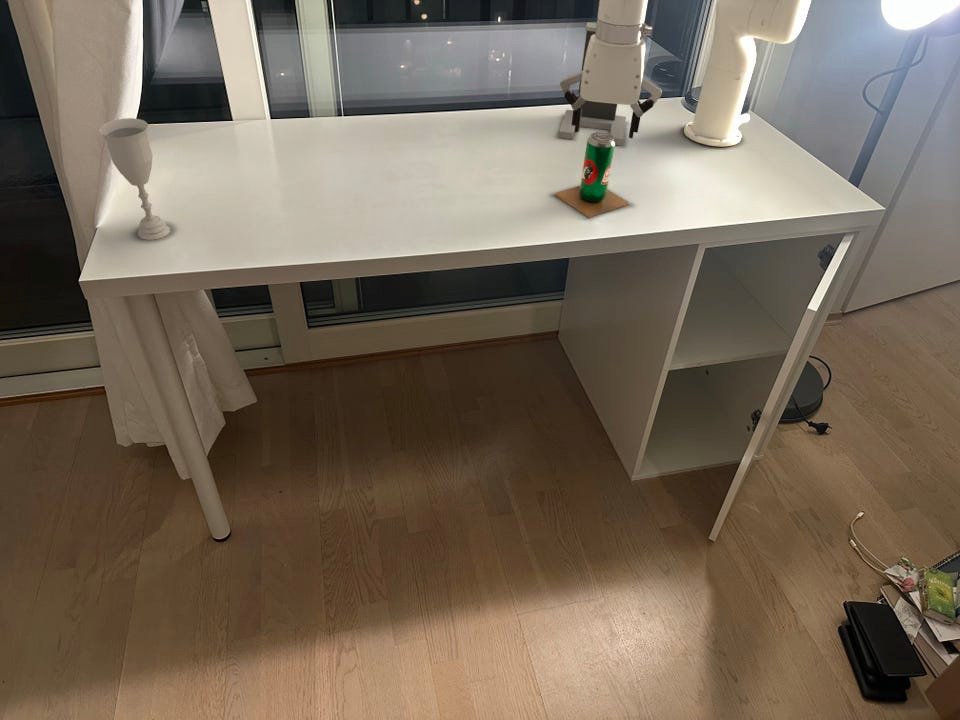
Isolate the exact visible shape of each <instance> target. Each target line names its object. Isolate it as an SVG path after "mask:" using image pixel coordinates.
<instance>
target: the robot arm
mask: <svg viewBox="0 0 960 720" xmlns="http://www.w3.org/2000/svg"><path fill="white" fill-rule="evenodd" d="M648 1H649V0H599V2H598V3H599V4H598V11H597V20H596V23H597V25H596V33H595V34H594V35H592V36H591V38H590V41H589V44H588V48H587V52H586V57H585V62H584V68H583V71H581V70H580V71H579V72H576V73H574V74H571V75H569V76H566V77H563V78H561V80H560V82H559V85H560V88H561V91H562V93H563V96H564V99H565V100H566V102H567V103H568V104H569V105H570V106H571V110H573V117H572V125H573V126H575V130H574V133H579V132H580V129H581V126H580V122H581V114H582V105H583V104H584V103H585V102H586V101H587V100H588V101H594V102H603V103H612V104H617V105H621V106H630V108H631V110H632V115H631V121H630V126H629V132H628V138H629V139H631V140H633V139H634V133H636V134H637V133H639V127H640V122H641V117H643V115H644V114H645V113H647V112H648V111H649V110H651V109H652V108H653V107H654V105H655V104H656V103H657V101H658V100H659V99H660V98H661V96H662V94H663V90H662V88H660V87H659V86H657V85H656V84H654V83H653V82H651V80H649V79H647V78H646V77H645V76H644V70H645V62H646V40H645V39H643V38H644V37H647V36H652V33H653V26H651V25H648V24H646V22H645V19H646V14H647V8H648V3H649V2H648ZM811 2H812V0H717V1H716V6H715V19H714V30H713V37H712V43H711V47H710V52H709V56H708V60H707V63H706V69H705V71H704V72H705V73H704V76H703V80H702V84H701V88H700V93H699V97H698V101H697V104H696V109H695V113H694V117H693V120H692V121H690V122H688V123H686V124H685V125H684V129H683V133H684V135H685V136H686V137H687V138H688V139H690V140H691V141H693V142H696V143H698V144H702V145H706V146H710V147H731V146H735V145H737V144H738V143H740V141H741V139H742V133H741V131H740V130H739V127H740V125H742V124H745V123H748V122H749V121H750V119H751V118H750V114H748V113H742V110H743V107H744V102H745V99H746V96H747V92H748V89H749V85H750V83H751V82H750V81H751V78H752V75H753V71H754V68H755V64H756V61H757V60H756V59H757V51H756V49H757V48H756V44H755V41H754V39H757V40H762V41H766V42H768V43H774V44H778V45H787V44H790V43H791V42H793V41H794V40H795V39H796V38H797V37H798V36H799V34H800V32H801V30H802V28H803V26H804V23H805V21H806V18H807V15H808V11H809V8H810V5H811ZM580 81H581V89H580V94H579V95H578V94H575V92H574V91H573V90H572V89H571V86H572V85H575V84H577V83H580ZM642 89H643V90H644V91H646V92H648V93H649V94H650V96H649V97H648V98H647V99H645V100H644V101H643V102H642V101H641V100H640V95H641V92H642V91H641V90H642ZM741 113H742V114H741Z"/></svg>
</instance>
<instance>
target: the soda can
mask: <svg viewBox="0 0 960 720" xmlns="http://www.w3.org/2000/svg"><path fill="white" fill-rule="evenodd" d="M615 147H616V145H615V142H614V137H613V136H612V135H611V134H610V132H606V131H605V132H604V131H595V132H592V133H590V134H589V137H588V138H587V140H586V145H585V152H584V158H583V164H582V172H581V179H580V185H579V186H580V192H579V194H580V196H581V198H582V199H583V200H585V201H588V202H593V203H595V202H601V201H602V200H604V199H605V197H606V193H607V190H608V187H609V182H610V176H611V170H612V164H613V159H614V152H615Z"/></svg>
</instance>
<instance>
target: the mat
mask: <svg viewBox="0 0 960 720" xmlns="http://www.w3.org/2000/svg"><path fill="white" fill-rule="evenodd" d="M579 192H580V185H577V186H574V187H571V188H567V189H564V190H561V191H560V190H559V191H557V192H555V193H554V196H555V197H556V198H558V199H559V200H561V201H563V202H564V203H565V204H567V205H569V206H570V207H571V208H573V209H575V210H576V211H578V212H579V213H581V214H582V215H584V216H585V217H587V218H592V217H596V216H598V215H602V214H605V213H608V212H611V211H614V210H617V209H620V208H622V207H623V208H624V207H626V206H630V205H629V204H630V202H629V201H627V200H626V199H624V198H622V197H621V196H619V195H618V194H616V193H614V192H612V191H611V190H609V189H607V193H606V197H605V199H604V200H602V201H601V202H595V203H593V202H588V201H585V200H583V199H582V198H581V196H580V194H579Z"/></svg>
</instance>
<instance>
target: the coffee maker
mask: <svg viewBox="0 0 960 720" xmlns="http://www.w3.org/2000/svg"><path fill="white" fill-rule="evenodd" d="M596 25H597V22H591V21H588V22H587V23H586V26H585V31H586V32H585V33H586V34H585V42H584V49H583V57H582V64H581V70H580V72H581V71H583V68H584V62H585V57H586V52H587V48H588V44H589V41H590V38H591V36H592V35H594V34H595V33H596ZM578 86H579V87H578V92H577V93H578V94H577V96H578V95H579V94H580V89H581V81H580V82H579V85H578ZM617 108H618V104H612V103H603V102H594V101H588V100H587V101H586V102H585V103H584V104H583V105H582V114H581V122H580V127H582V128H590V129H599V130H607V131H609V134H611V135H612V136H613V137H614V142H615V146H620V147H622V146H623V143H624V135H625V129H626V121H627V116H626V115H625V116H624V115H616V114H617ZM572 117H573V109H567V108H566V109H565V112H564V115H563V119H562V121H561V125H560V128H559V132H558V139H566V140H573V137H574V134H575V132H574V131H575V126H573V125H572Z"/></svg>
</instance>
